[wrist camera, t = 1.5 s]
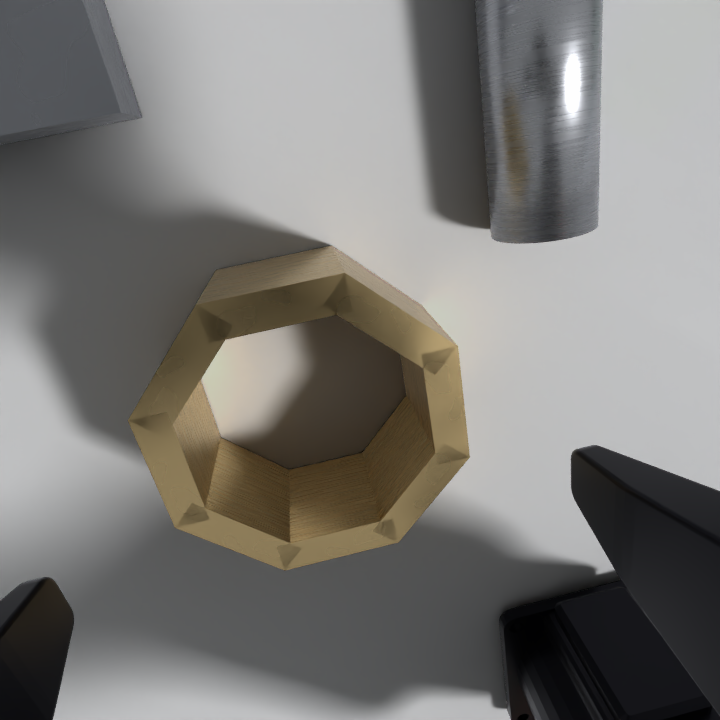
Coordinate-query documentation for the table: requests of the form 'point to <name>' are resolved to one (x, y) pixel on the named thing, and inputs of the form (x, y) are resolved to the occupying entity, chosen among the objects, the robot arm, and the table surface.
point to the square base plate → (60, 69)
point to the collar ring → (317, 481)
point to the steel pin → (541, 116)
